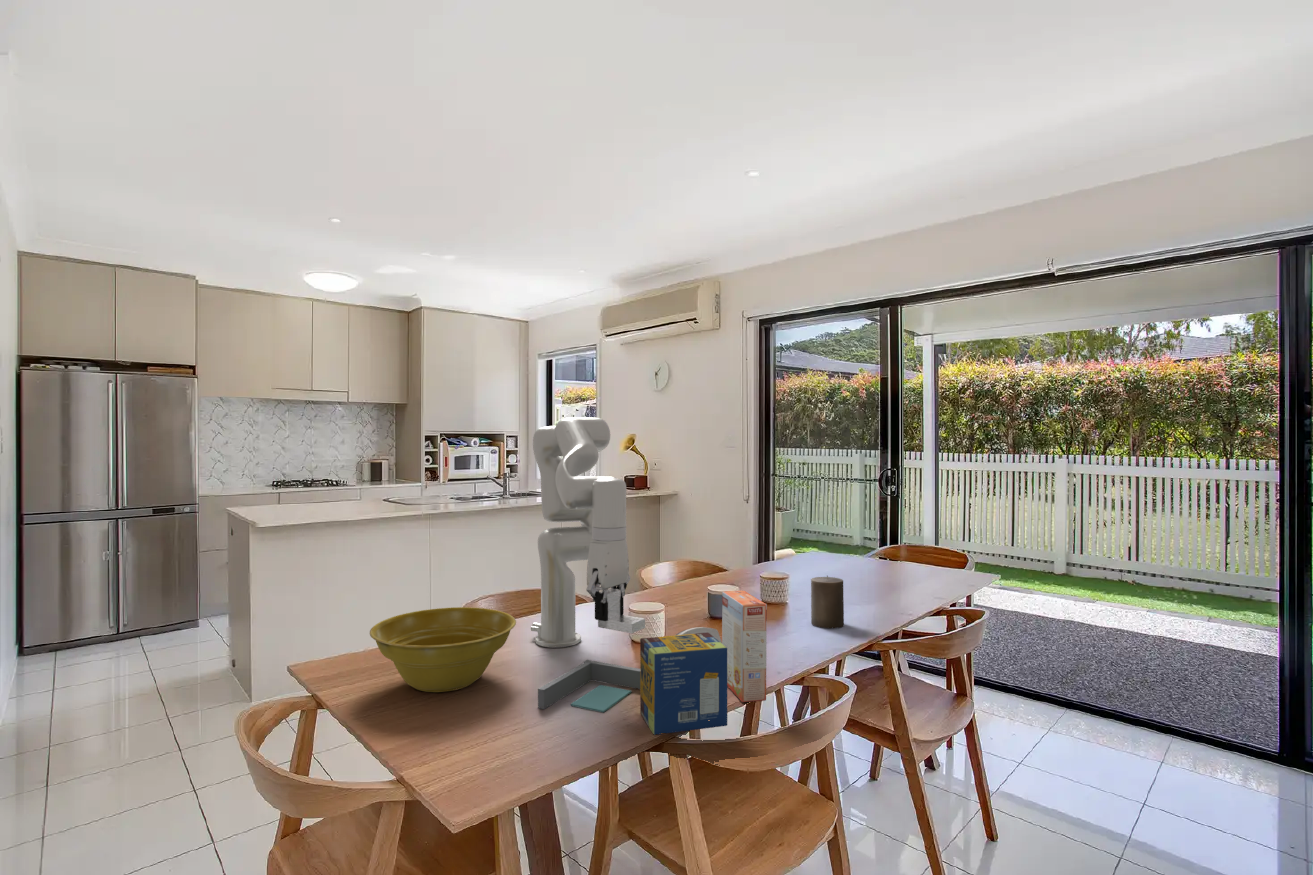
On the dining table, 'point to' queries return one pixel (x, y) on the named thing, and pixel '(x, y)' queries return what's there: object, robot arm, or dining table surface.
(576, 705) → the mat
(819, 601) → the pillar candle
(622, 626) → the grey l-shaped block
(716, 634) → the white black slab
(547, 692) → the corner walls
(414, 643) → the planter bowl
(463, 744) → the dining table surface
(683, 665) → the protein box
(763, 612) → the cracker box
